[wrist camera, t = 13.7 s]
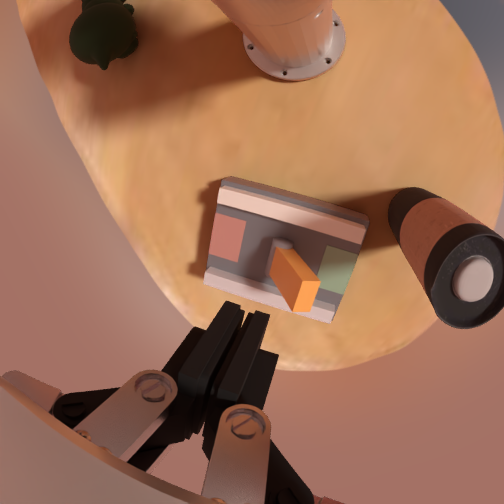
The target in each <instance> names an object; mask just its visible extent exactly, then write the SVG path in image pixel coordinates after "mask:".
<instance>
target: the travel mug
mask: <svg viewBox="0 0 504 504" xmlns="http://www.w3.org/2000/svg"><path fill="white" fill-rule="evenodd" d="M388 220H389V224H390V227H391V229H392V231H393V233H394V235H395V237H396V239H397V241H398V243H399V245H400V247H401V249H402V252H403V253H404V255H405V257H406V259H407V260H408V262H409V264H410V266H411V267H412V269H413V271H414V273H415V274H416V276H417V278H418V280H419V281H420V283H421V285H422V287H423V289H424V291H425V292H426V294H427V296H428V298H429V300H430V302H431V304H432V306H433V308H434V310H435V313H436V315H437V316H438V317H439V318H440V319H441V320H442V321H443V322H444V323H446V324H448V325H449V326H451V327H455V328H459V329H470V328H474V327H478V326H480V325H483V324H484V323H486V322H488V321H489V320H491V319H492V318H493V317H495V316H496V315H497V314H498V313H499V312H500V311H501V310H502V309H503V307H504V239H503V238H502V237H501V236H499V235H498V234H497V233H495V232H494V231H493V230H491V229H490V228H488V227H487V226H486V225H484V224H483V223H481V222H480V221H478V220H477V219H476V218H474V217H473V216H471V215H470V214H468V213H467V212H465V211H464V210H462V209H460V208H459V207H457V206H456V205H454V204H453V203H451V202H449V201H448V200H446V199H443V198H441V197H439V196H437V195H435V194H433V193H431V192H429V191H426V190H424V189H421V188H416V187H411V188H407V189H404V190H402V191H401V192H399V193H398V194H397V195H396V196H395V197H394V198H393V200H392V202H391V204H390V206H389V211H388Z"/></svg>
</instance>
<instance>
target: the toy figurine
mask: <svg viewBox="0 0 504 504" xmlns="http://www.w3.org/2000/svg"><path fill="white" fill-rule="evenodd" d="M123 1H125V0H82V14H81V15H80V16H79V17H78V18H77V19H76V21H75V22H74V24H73V26H72V28H71V32H70V36H69V43H70V47H71V50H72V52H73V54H74V55H75V56H76V57H77V58H78V59H79V60H81V61H83V62H85V63H88V64H97V65H99V66H100V68H101V69H102V70H106V69H107V68H108V65H109V63H110V61H112V60H114V59H116V58H125V57H127V56H128V55H130V54H131V53H132V52H133V51H134V50H135V49H136V48H137V46H138V40H137V38H136V37H137V32H136V26H135V22H134V19H133V17H132V14H133V12H134V8H133V6H132V5H130V4H124V5H123V3H122V2H123Z"/></svg>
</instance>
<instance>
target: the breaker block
mask: <svg viewBox="0 0 504 504" xmlns="http://www.w3.org/2000/svg"><path fill="white" fill-rule="evenodd" d="M369 223H370V221H369V219H368V216H367V215H366V214H363V213H360V212H357V211H354V210H350V209H347V208H344V207H341V206H338V205H334V204H331V203H328V202H324V201H321V200H318V199H314V198H311V197H307V196H304V195H300V194H297V193H293V192H290V191H286V190H283V189H279V188H275V187H272V186H268V185H264V184H260V183H256V182H252V181H248V180H244V179H240V178H236V177H232V176H230V177H228V178H225V179H222V182H221V187H220V189H219V194H218V199H217V209H216V213H215V218H214V224H213V230H212V235H211V241H210V247H209V255H208V261H207V267H206V271H205V275H204V282H203V284H205V285H208V286H211V287H214V288H217V289H220V290H223V291H226V292H229V293H232V294H235V295H238V296H241V297H244V298H247V299H250V300H253V301H256V302H260V303H263V304H266V305H269V306H272V307H275V308H279V309H282V310H285V311H288V312H292V311H291V309H290V308H289V306H288V304H287V303H286V301H285V299H284V298H283V296H282V295H281V293H280V291H279V290H278V288H277V286H276V285H275V283H274V282H273V280H272V279H271V278H269V277H267V276H266V275H265V269H266V265H267V261H268V257H269V253H270V249H271V245H272V242H273V238H275V237H282V238H286V239H289V240H290V241H292V242H293V249H294V250H295V251H296V252H297V254H298V255H299V256H300V257H301V258H302V259H303V261H304V262H305V263H306V264H307V265H308V267H309V268H310V269H311V270H312V271H313V272H314V274H315V275H316V276H317V277H318V278H319V280H320V281H321V283H320V286H319V288H318V291H317V294H316V297H315V299H314V302H313V305H312V307H311V310H310V312H292V313H295V314H298V315H302V316H305V317H308V318H312V319H315V320H318V321H322V322H325V323H329V324H330V322H331V321H332V320H333V318H334V316H335V313H336V311H337V309H338V306H339V304H340V301H341V299H342V296H343V294H344V292H345V289H346V287H347V284H348V282H349V279H350V277H351V274H352V271H353V269H354V266H355V263H356V261H357V258H358V255H359V252H360V249H361V246H362V244H363V241H364V238H365V235H366V232H367V229H368V226H369Z"/></svg>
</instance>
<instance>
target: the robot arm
mask: <svg viewBox="0 0 504 504" xmlns="http://www.w3.org/2000/svg"><path fill="white" fill-rule="evenodd" d="M211 1H212V2H213V3H214V4H215V5H217V6H218V7H219V8H220V9H221V10H222V11H223V13H224V14H225V15H226V16H227V17H228V18H229V19H230V20H231V21H232V22H233V23H234V24H235V25H236V26H237V27H238V28H239V29H240V30H241V31H242V32H243V44H244V47H245V51H246V53H247V54H248V56H249V58H250V59H251V60H252V62H253V63H254V64H255V65H256V66H257V67H258V68H259V69H261V70H262V71H264V72H265V73H267V74H268V75H271V76H273V77H276V78H279V79H283V80H290V81H301V80H308V79H312V78H316V77H318V76H320V75H322V74H324V73H326V72H327V71H328V70H330V69H331V68H332V67H333V66H334V65H335V64H336V63H337V62H338V60H339V59H340V57H341V56H342V53H343V50H344V47H345V41H346V40H345V29H344V26H343V23H342V21H341V19H340V17H339V16H338V15H337V13H336V12H335V11H334V10H333V9H332V0H211ZM335 24H337V25H338V26H334V25H335ZM252 47H254V49H252V50H251V48H252ZM326 61H330V64H327V63H326ZM284 72H286V73H287V75H283V73H284ZM240 307H241V306H240V305H238V304H235V303H232V302H229V301H225V303H224V304H223V306H222V307H221V309H220V310H219V312H218V313H217V315H216V316H215V318H214V319H213V321H212V322H211V324H210V325H209V327H208V328H207V330H204V329H201V328H198V327H196V326H195V327H193V328H192V330H191V331H190V333H189V334H188V335H187V336H186V338H185V340H184V341H183V342H182V343H181V345H180V346H179V347H178V349H177V350H176V351H175V353H174V354H173V356H172V357H171V358H170V360H169V361H168V362H167V364H166V365H165V367H164V368H163V369H162V371H158V370H145V371H142V372H139V373H137V374H136V375H134V376H133V377H132V378H131V379H130V380H129V381H127V382H126V383H125V384H124V385H123V386H122V387H119V388H111V389H103V390H94V391H86V392H75V393H69V394H63V393H62V392H61V390H60V389H58V388H55V387H53V386H50V385H48V384H46V383H44V382H41V381H39V380H37V379H35V378H32V377H30V376H28V375H26V374H24V373H22V372H19V371H9V372H6V373H5V374H4V375H3V376H0V504H345V503H342V502H339V501H336V500H333V499H331V498H328V497H325V496H324V497H323V498H321V497H318V496H316V495H313V494H312V492H311V491H310V489H309V488H308V487H307V486H306V484H305V483H304V482H303V481H302V479H301V478H300V477H299V476H298V474H297V473H296V472H295V471H294V469H293V468H292V467H291V465H290V464H289V463H288V461H287V460H286V459H285V458H284V456H283V455H282V454H281V452H280V451H279V450H278V448H277V447H276V446H275V444H274V443H273V442H272V440H271V439H270V437H271V436H270V435H271V422H270V420H269V418H268V416H267V415H266V414H265V413H264V412H263V411H262V410H263V407H264V404H265V400H266V397H267V394H268V391H269V387H270V384H271V380H272V377H273V374H274V371H275V367H276V364H277V360H278V357H279V355H278V354H275V353H271V352H268V351H265V350H262V349H260V346H261V343H262V340H263V337H264V334H265V330H266V327H267V324H268V321H269V317H270V315H269V314H266V313H263V312H260V311H257V310H256V311H255V313H254V314H253V313H250V312H249V313H248V315H247V317H246V319H245V321H244V323H243V325H242V321H243V317H244V313H245V311H244V310H241V309H240ZM241 325H242V327H241ZM204 422H205V424H204ZM203 424H204V429H203V434H202V436H203V437H204V440H203V445H202V449H203V451H204V453H205V455H206V457H207V458H208V460H209V463H208V467H207V471H206V475H205V480H204V484H203V488H202V492H201V495H198V494H195V493H193V492H190V491H187V490H185V489H182V488H180V487H178V486H175V485H172V484H170V483H168V482H166V481H164V480H161V479H159V478H157V477H155V476H152V475H150V474H151V472H152V471H153V470H154V469H155V468H156V467H157V466H158V464H159V463H160V462H161V461H162V460H163V458H164V457H165V456H166V455H167V454H168V452H169V451H170V450H171V448H172V447H173V445H174V443H178V442H182V441H184V440H185V438H186V439H188V440H189V439H190V437H191V435H192V433H195V434H198V433H199V432H200V430H201V428H202V426H203Z"/></svg>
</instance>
